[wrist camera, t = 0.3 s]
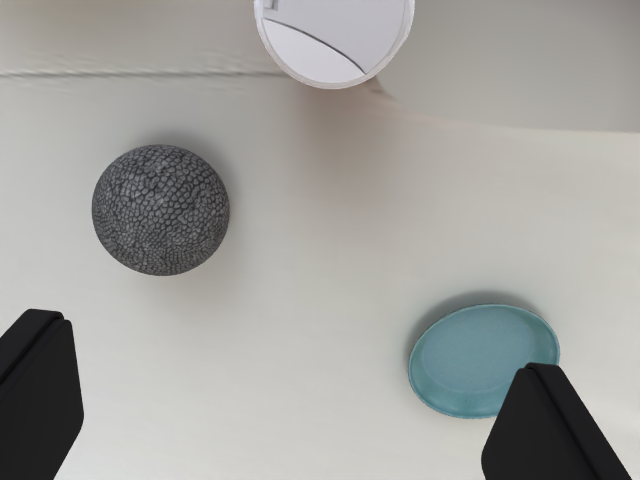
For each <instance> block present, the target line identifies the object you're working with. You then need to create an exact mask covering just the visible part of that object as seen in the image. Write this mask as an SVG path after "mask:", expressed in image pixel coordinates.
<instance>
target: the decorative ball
mask: <svg viewBox="0 0 640 480" xmlns="http://www.w3.org/2000/svg"><path fill="white" fill-rule="evenodd" d="M229 214H230V212H229V200H228V196H227V192H226V189H225V187H224V184H223V182H222V181H221V179H220V177H219V176H218V174H217V173H216V172H215V170H214V169H213V168H212V167H211V166H210V165H209V164H208V163H207V162H206V161H204V160H203V159H202V158H200V157H199V156H197V155H196V154H194V153H192V152H190V151H188V150H185V149H182V148H179V147H175V146H170V145H149V146H143V147H140V148H136V149H134V150H131V151H129V152H127V153H125V154H123V155H122V156H120V157H119V158H117V159H116V160H115V161H114V162H112V163H111V164H110V165H109V166H108V167H107V169H106V170H105V171H104V172H103V174H102V175H101V177H100V179H99V181H98V183H97V185H96V187H95V190H94V194H93V199H92V219H93V224H94V228H95V231H96V234H97V236H98V238H99V240H100V242H101V244H102V245H103V246H104V248H105V249H106V250H107V251H108V252H109V253H110V254H111V255H112V256H113V257H114V258H115V259H116V260H117V261H119V262H120V263H122V264H123V265H125V266H127V267H128V268H130V269H133V270H135V271H138V272H141V273H144V274H149V275H155V276H170V275H177V274H181V273H184V272H187V271H189V270H191V269H193V268H195V267H197V266H199V265H200V264H202V263H203V262H205V261H206V260H207V259H208V258H209V257H210V256H211V255H212V254H213V253H214V252H215V251H216V250H217V248H218V247H219V246H220V244H221V242H222V240H223V239H224V236H225V234H226V231H227V228H228V223H229Z"/></svg>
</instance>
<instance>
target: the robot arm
mask: <svg viewBox="0 0 640 480" xmlns="http://www.w3.org/2000/svg"><path fill="white" fill-rule="evenodd" d="M83 419H84V410H83V403H82V396H81V388H80V381H79V374H78V366H77V359H76V352H75V344H74V337H73V330H72V324H71V322H70V321H69V320H64V316H63V314H62V313H61V312H58V311H48V310H39V309H28V310H27V311H25V312H24V313H23V314H22V315H21V316H20V317H19V318H18V319H17V320H16V322H15V323H14V324H13V325H12V326H11V327H10V328H9V329H8V330H7V331H6V332H5V333H4V334H3V335H2V336H1V338H0V480H53V479H54V477H55V476H56V474H57V472H58V470H59V468H60V467H61V465H62V463H63V461H64V459H65V458H66V456H67V454H68V452H69V450H70V449H71V447H72V445H73V443H74V441H75V440H76V438H77V436H78V434H79V432H80V430H81V427H82V424H83ZM481 464H482V470H483V473H484V476H485V479H486V480H632V479H631V477H630V476H629V474H628V472H627V471H626V469H625V468H624V466H623V465H622V463H621V461H620V460H619V458H618V457H617V455H616V454H615V452H614V450H613V449H612V447H611V446H610V444H609V443H608V441H607V440H606V438H605V436H604V435H603V433H602V432H601V430H600V429H599V427H598V425H597V424H596V422H595V421H594V419H593V418H592V416H591V414H590V413H589V411H588V410H587V408H586V407H585V405H584V403H583V402H582V400H581V399H580V397H579V396H578V394H577V392H576V391H575V389H574V388H573V386H572V385H571V383H570V381H569V380H568V378H567V377H566V375H565V374H564V372H563V370H562V369H561V368H560V367H559V366H557V365H553V364H544V363H534V362H529V363H527V364H526V365H525V367H524V368H519V369H518V370H517V372H516V373H515V376H514V378H513V380H512V383H511V385H510V388H509V390H508V392H507V395H506V397H505V399H504V402H503V404H502V406H501V409H500V411H499V413H498V416H497V418H496V420H495V423H494V425H493V428H492V430H491V432H490V435H489V437H488V439H487V442H486V444H485V446H484V449H483V451H482V456H481Z"/></svg>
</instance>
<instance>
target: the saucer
mask: <svg viewBox="0 0 640 480" xmlns="http://www.w3.org/2000/svg"><path fill="white" fill-rule="evenodd" d="M559 357H560V347H559V343H558V340H557V337H556V335H555V333H554V331H553V330H552V328H551V327H550V326H549V325H548V324H547V323H546V322H545V321H544V320H543V319H542V318H541V317H539V316H537V315H536V314H534V313H532V312H531V311H528V310H526V309H523V308H520V307H516V306H511V305H505V304H478V305H473V306H468V307H464V308H461V309H458V310H456V311H453V312H451V313H449V314H447V315H446V316H444V317H442V318H440V319H439V320H437V321H436V322H435V323H433V324H432V325H431V326H430V327H429V328H428V329H427V330H426V331H425V332H424V333H423V334H422V335H421V337H420V338H419V339H418V341H417V342H416V344H415V346H414V347H413V349H412V352H411V354H410V358H409V362H408V376H409V381H410V384H411V387H412V389H413V390H414V392H415V394H416V395H417V396H418V397H419V399H420V400H421V401H422V402H424V403H425V404H426V405H427V406H429V407H430V408H432V409H433V410H435V411H437V412H440V413H442V414H445V415H448V416H451V417H457V418H463V419H481V418H490V417H495V416H498V413H499V411H500V409H501V406H502V404H503V402H504V399H505V397H506V395H507V392H508V390H509V388H510V385H511V383H512V380H513V378H514V376H515V373H516V372H517V370H518V369H519V368H524V367H525V365H526V364H527V363H529V362H534V363H544V364H553V365H557V366H558V364H559Z"/></svg>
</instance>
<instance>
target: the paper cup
mask: <svg viewBox="0 0 640 480" xmlns="http://www.w3.org/2000/svg"><path fill="white" fill-rule="evenodd" d="M414 8H415V0H254V13H255V20H256V24H257V29H258V32H259V35H260V37H261V40H262V42H263V44H264V46H265V48H266V50H267V51H268V53H269V55H270V56H271V57H272V59H273V60H274V61H275V63H276V64H277V65H278V66H279V67H280V68H281V69H282V70H283V71H285V72H286V73H287V74H288V75H290V76H291V77H293V78H294V79H296V80H298V81H300V82H302V83H304V84H306V85H309V86H313V87H316V88H322V89H343V88H348V87H352V86H355V85H357V84H360V83H363V82H365V81H366V80H368V79H370V78H372V77H373V76H375V75H376V74H377V73H378V72H380V71H381V70H382V69H383V68H384V67H385V66H386V65H387V64H388V63H389V62H390V61H391V60H392V58H393V57H394V55H395V54H396V53H397V51H398V50H399V48H400V47H401V46H402V45H403V43H404V42H405V41H406V39H407V38H408V35H409V32H410V29H411V26H412V21H413V16H414Z"/></svg>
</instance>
